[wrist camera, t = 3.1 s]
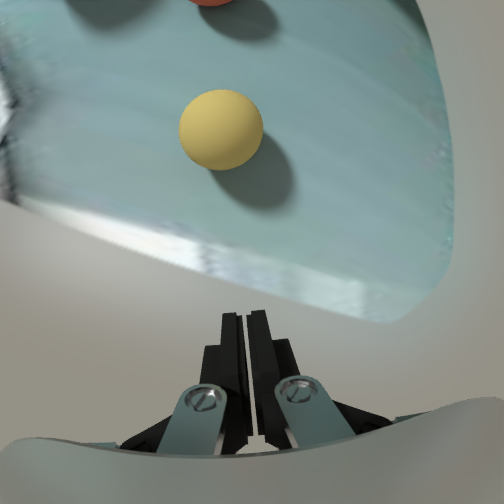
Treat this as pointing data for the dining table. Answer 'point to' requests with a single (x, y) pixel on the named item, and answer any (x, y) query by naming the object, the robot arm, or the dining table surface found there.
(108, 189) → the dining table surface
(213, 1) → the red ball
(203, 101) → the ochre ball
